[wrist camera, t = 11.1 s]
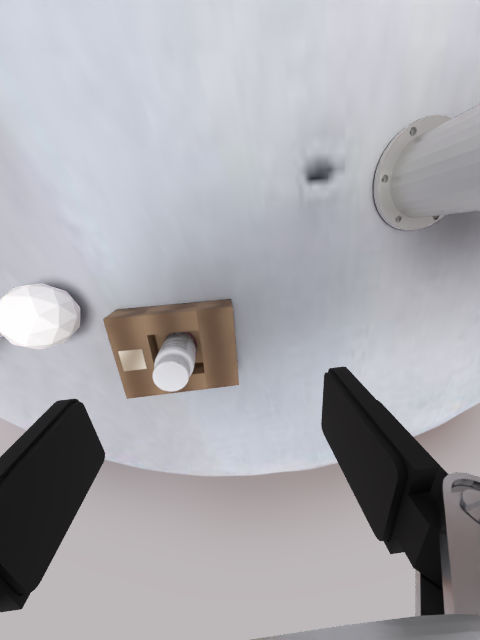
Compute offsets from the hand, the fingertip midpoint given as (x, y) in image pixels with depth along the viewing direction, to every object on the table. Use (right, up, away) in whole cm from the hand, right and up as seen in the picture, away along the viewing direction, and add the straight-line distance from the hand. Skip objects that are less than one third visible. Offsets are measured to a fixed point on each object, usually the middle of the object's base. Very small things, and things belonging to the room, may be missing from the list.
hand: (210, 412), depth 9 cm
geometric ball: (-23, +5, +21) cm, 32 cm away
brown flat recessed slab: (-8, 0, +25) cm, 26 cm away
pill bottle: (-7, 0, +24) cm, 25 cm away
